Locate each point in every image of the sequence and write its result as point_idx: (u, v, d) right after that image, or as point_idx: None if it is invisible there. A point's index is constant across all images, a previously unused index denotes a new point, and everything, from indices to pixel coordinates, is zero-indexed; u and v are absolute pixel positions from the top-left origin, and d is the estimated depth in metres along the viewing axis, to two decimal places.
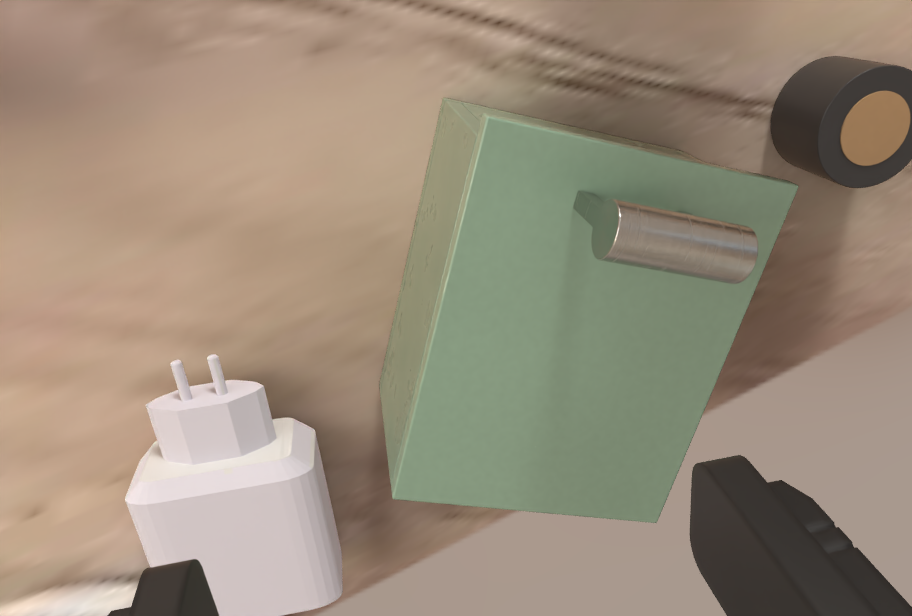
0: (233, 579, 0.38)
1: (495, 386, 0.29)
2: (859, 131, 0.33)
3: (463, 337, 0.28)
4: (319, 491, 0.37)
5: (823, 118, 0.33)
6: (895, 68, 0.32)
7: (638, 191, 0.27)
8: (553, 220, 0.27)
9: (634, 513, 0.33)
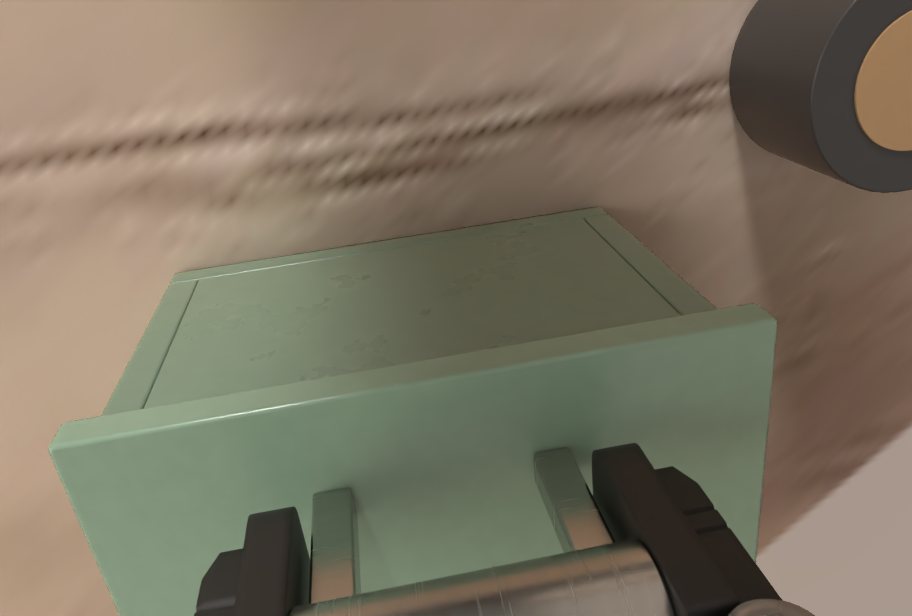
0: None
1: None
2: (891, 95, 0.17)
3: None
4: None
5: (812, 99, 0.17)
6: None
7: (438, 450, 0.13)
8: None
9: None
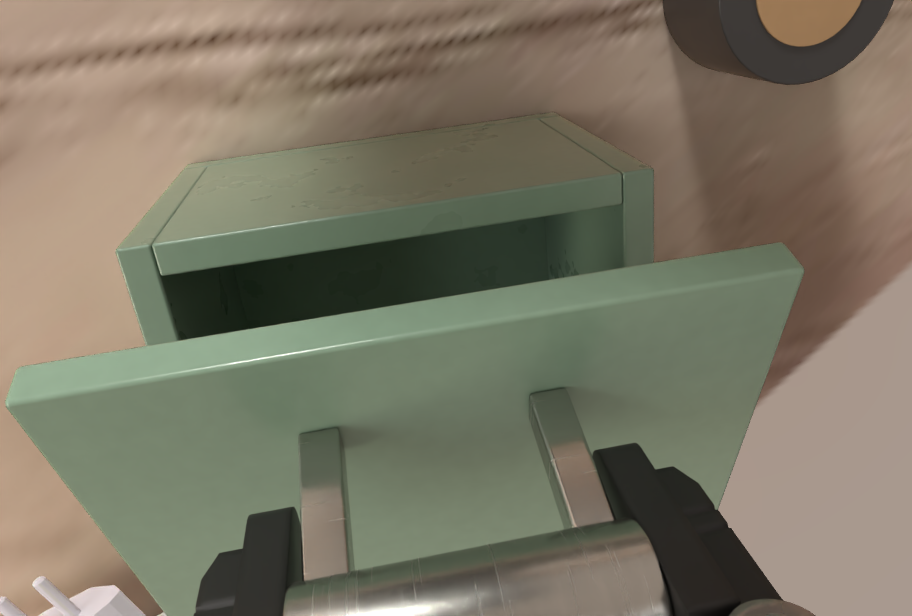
0: None
1: None
2: None
3: None
4: None
5: None
6: None
7: (430, 394, 0.12)
8: (281, 481, 0.13)
9: None
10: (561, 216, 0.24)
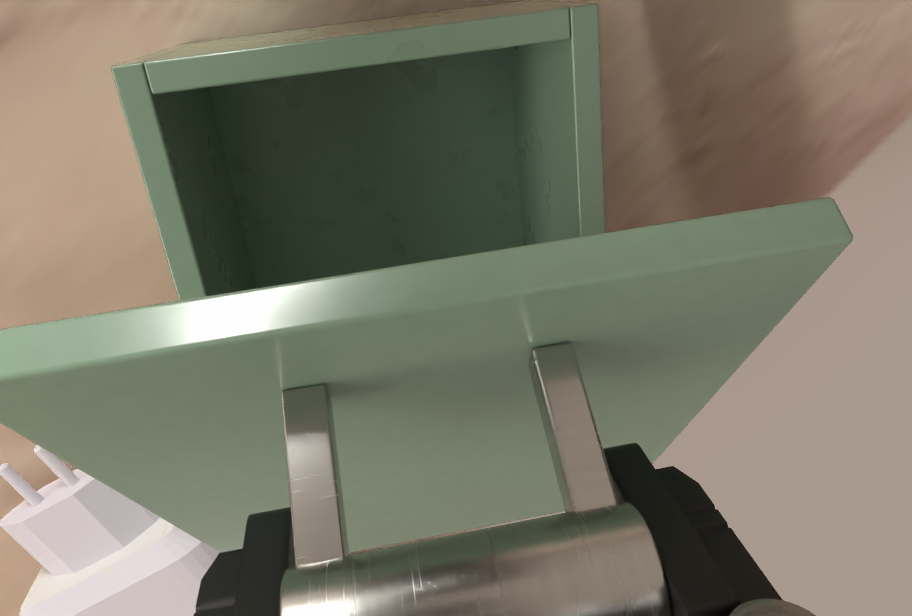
0: None
1: None
2: None
3: (219, 513, 0.17)
4: None
5: None
6: None
7: (426, 354, 0.11)
8: (262, 423, 0.12)
9: None
10: (526, 89, 0.25)
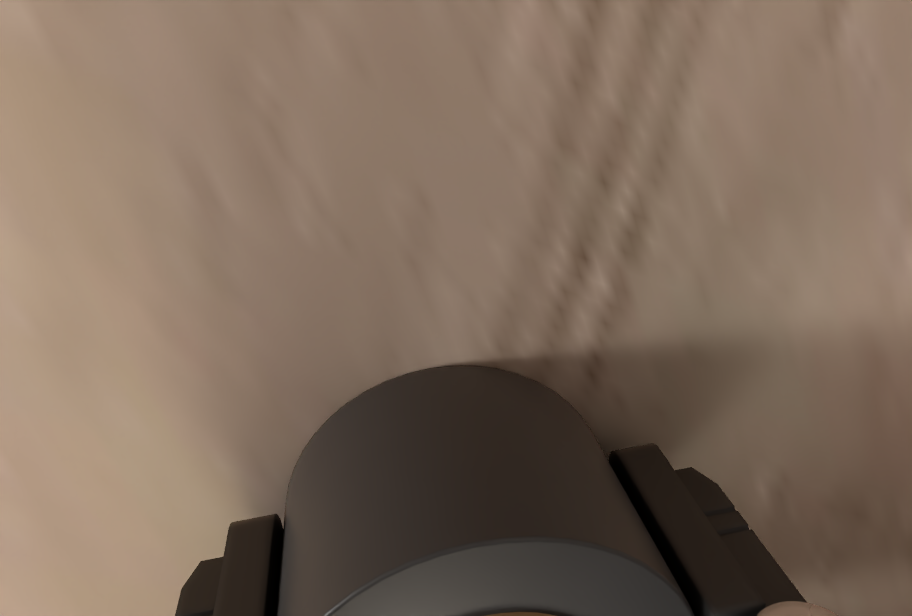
0: None
1: None
2: None
3: None
4: None
5: None
6: None
7: None
8: None
9: None
10: None
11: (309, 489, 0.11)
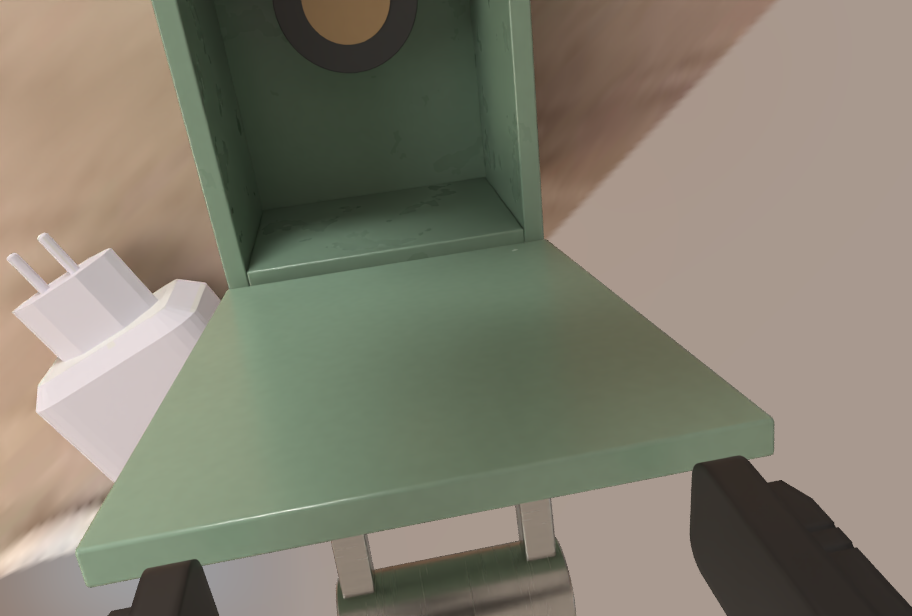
0: None
1: None
2: (348, 20, 0.28)
3: None
4: None
5: (336, 71, 0.29)
6: None
7: None
8: None
9: None
10: None
11: None
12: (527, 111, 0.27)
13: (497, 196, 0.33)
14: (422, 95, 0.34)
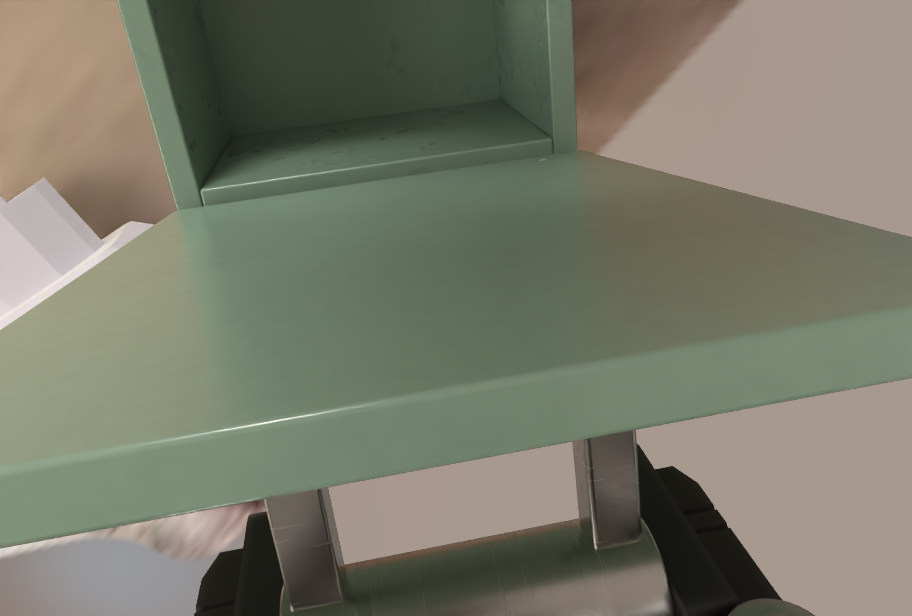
0: None
1: None
2: None
3: None
4: None
5: None
6: None
7: None
8: None
9: None
10: None
11: None
12: None
13: (516, 113, 0.27)
14: None
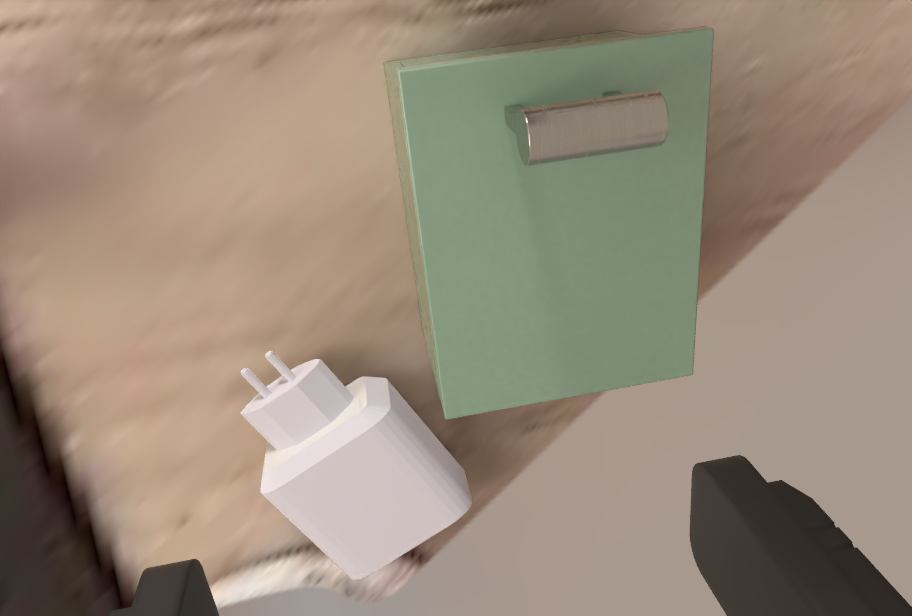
0: (375, 522, 0.43)
1: (496, 299, 0.33)
2: None
3: (452, 266, 0.31)
4: (407, 425, 0.42)
5: None
6: None
7: (560, 87, 0.29)
8: (492, 140, 0.29)
9: (668, 372, 0.36)
10: None
11: None
12: None
13: None
14: None
